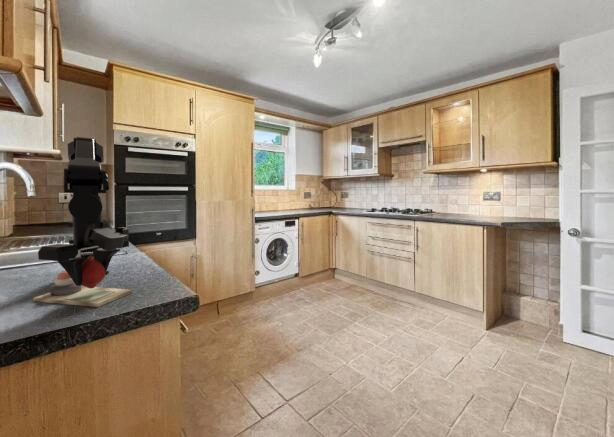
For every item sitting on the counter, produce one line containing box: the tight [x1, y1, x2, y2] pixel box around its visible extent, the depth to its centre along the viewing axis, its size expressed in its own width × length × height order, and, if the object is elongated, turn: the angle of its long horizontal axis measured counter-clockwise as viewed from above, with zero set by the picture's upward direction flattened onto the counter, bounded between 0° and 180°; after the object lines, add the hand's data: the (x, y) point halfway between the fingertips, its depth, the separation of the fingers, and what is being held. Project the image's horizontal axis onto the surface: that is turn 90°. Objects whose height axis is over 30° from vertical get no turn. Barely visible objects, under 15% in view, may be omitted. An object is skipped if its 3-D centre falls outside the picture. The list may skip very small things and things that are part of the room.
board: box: [32, 283, 133, 308], centre depth 73 cm, size 18×10×3 cm, turn 79°
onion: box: [81, 256, 106, 289], centre depth 71 cm, size 6×6×8 cm
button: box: [54, 270, 75, 287], centre depth 73 cm, size 4×4×3 cm
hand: (90, 281), depth 71 cm, fingers closed on onion, 6 cm apart
